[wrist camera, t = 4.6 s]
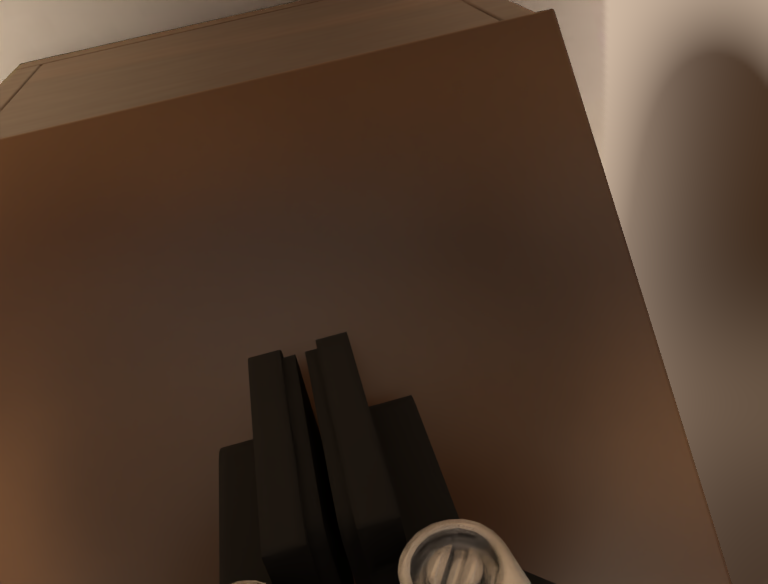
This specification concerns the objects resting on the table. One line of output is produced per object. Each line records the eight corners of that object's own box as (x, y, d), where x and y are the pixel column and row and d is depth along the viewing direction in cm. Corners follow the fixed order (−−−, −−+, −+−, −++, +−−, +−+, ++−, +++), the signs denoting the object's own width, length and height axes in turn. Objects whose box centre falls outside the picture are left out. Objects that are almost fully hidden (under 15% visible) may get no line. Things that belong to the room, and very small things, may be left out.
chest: (496, 434, 32) (569, 581, 25) (222, 512, 31) (224, 686, 24) (439, -32, 21) (540, 12, 15) (18, 64, 20) (-76, 157, 14)
